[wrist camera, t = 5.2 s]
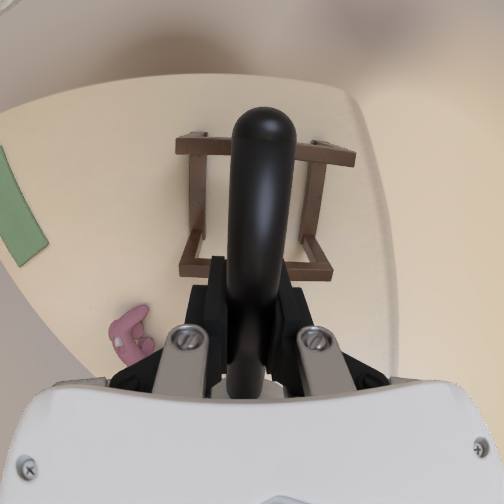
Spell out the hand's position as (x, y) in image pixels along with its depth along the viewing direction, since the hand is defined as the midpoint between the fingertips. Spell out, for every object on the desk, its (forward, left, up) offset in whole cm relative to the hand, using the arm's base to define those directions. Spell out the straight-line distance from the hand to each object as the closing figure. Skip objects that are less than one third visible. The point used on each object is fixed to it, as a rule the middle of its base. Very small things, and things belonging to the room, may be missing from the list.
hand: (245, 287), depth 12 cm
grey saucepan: (+1, 0, +2) cm, 2 cm away
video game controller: (+21, -12, -17) cm, 30 cm away
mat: (+2, -33, -17) cm, 37 cm away
